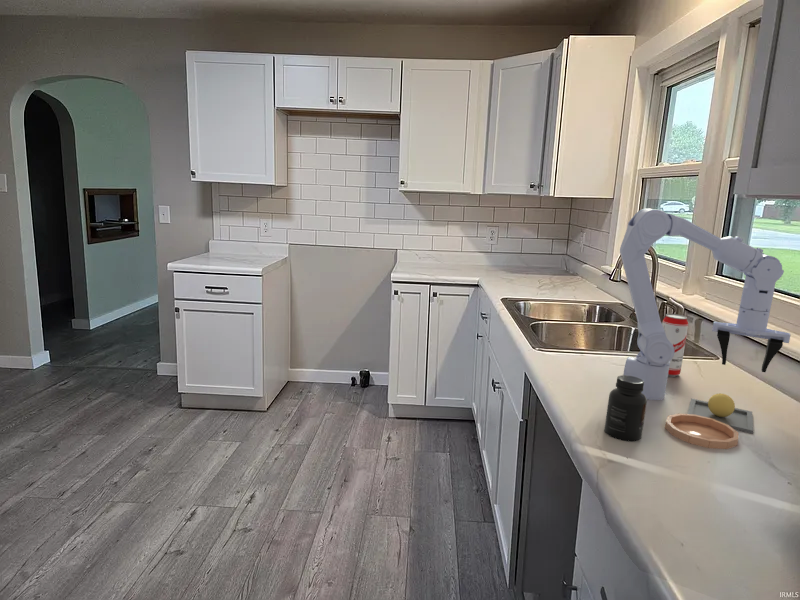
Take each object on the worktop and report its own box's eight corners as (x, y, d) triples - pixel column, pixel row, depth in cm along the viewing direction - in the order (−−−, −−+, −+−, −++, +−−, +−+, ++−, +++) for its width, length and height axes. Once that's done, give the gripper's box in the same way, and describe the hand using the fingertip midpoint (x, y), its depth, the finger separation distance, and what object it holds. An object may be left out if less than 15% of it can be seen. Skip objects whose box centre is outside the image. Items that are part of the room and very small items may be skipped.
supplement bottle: (648, 444, 105) (657, 385, 102) (615, 445, 104) (624, 385, 101) (628, 429, 111) (636, 372, 109) (597, 429, 110) (604, 373, 108)
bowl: (661, 439, 107) (663, 429, 107) (668, 418, 118) (670, 408, 117) (736, 458, 101) (738, 447, 100) (736, 434, 111) (738, 424, 111)
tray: (685, 421, 117) (687, 415, 116) (690, 404, 127) (691, 398, 126) (752, 437, 111) (753, 430, 110) (751, 417, 121) (752, 411, 120)
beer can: (684, 375, 147) (694, 317, 144) (671, 379, 144) (681, 319, 140) (662, 368, 152) (671, 312, 149) (649, 371, 149) (658, 314, 145)
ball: (705, 417, 118) (708, 395, 117) (707, 409, 122) (710, 388, 121) (732, 422, 115) (736, 400, 114) (733, 415, 119) (736, 393, 118)
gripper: (716, 306, 121) (706, 364, 124) (796, 317, 114) (783, 379, 117) (717, 301, 127) (707, 357, 130) (793, 311, 120) (781, 370, 122)
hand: (743, 367), depth 124 cm, fingers open, 7 cm apart
